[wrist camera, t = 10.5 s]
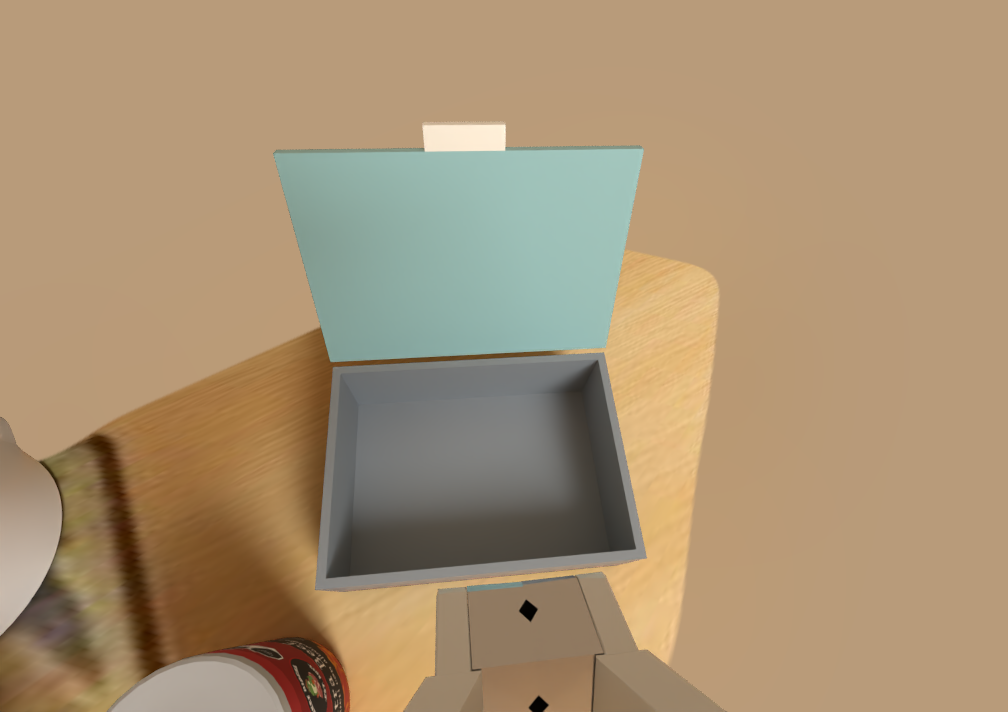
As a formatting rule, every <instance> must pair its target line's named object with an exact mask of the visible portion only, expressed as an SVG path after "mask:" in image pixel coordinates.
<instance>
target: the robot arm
mask: <svg viewBox="0 0 1008 712" xmlns="http://www.w3.org/2000/svg"><path fill="white" fill-rule="evenodd" d="M61 525H62V506H61V499H60V495H59V491H58V488H57V486H56V484H55V481H54V480H53V478H52V476H51V475H50V473H49V472H48V471H47V470H46V469H45V468H44V466H43V465H42V464H40V463H39V462H38V461H37V460H35V459H34V458H32V457H31V456H29V455H28V454H26V453H25V452H23V451H22V450H21V449H20V448H19V447H18V446H17V445H16V442H15V438H14V436H13V433H12V431H11V428H10V426H9V424H8V423H7V421H6V420H5V419H3V418H2V417H0V635H1V634H3V633H4V632H5V630H6V629H7V628H8V627H9V626H10V625H11V624H12V623H13V622H14V621H15V620H16V618H17V617H18V616H19V615H20V614H21V612H22V611H23V610H24V608H25V607H26V606H27V605H28V603H29V602H30V600H31V599H32V597H33V596H34V595H35V593H36V591H37V590H38V588H39V587H40V585H41V583H42V581H43V579H44V578H45V576H46V574H47V572H48V570H49V567H50V565H51V563H52V560H53V558H54V555H55V552H56V549H57V545H58V542H59V537H60V533H61ZM467 599H468V604H467ZM468 618H469V620H468ZM403 712H726V711H725V710H724V709H722V708H721V707H720V706H718V705H717V704H716V703H715V702H713V701H712V700H711V699H710V698H708V697H707V696H706V695H704V694H703V693H702V692H701V691H699V690H698V689H697V688H695V687H694V686H693V685H691V684H690V683H689V682H688V681H687V680H685V679H684V678H683V677H681V676H680V675H679V674H678V673H676V672H675V671H674V670H673V669H671V668H670V667H669V666H668V665H666V664H665V663H664V662H662V661H661V660H660V659H659V658H657V657H656V656H655V655H654V654H652V653H651V652H650V651H648V650H638V648H637V646H636V643H635V641H634V639H633V637H632V634H631V632H630V630H629V627H628V625H627V623H626V621H625V618H624V616H623V614H622V611H621V609H620V607H619V605H618V602H617V600H616V598H615V596H614V593H613V591H612V589H611V586H610V584H609V582H608V580H607V577H606V575H605V574H603V573H602V572H596V573H588V574H580V575H575V576H564V577H556V578H547V579H538V580H530V581H521V582H513V583H501V584H488V585H476V586H467V590H466V587H461V588H447V589H438V592H437V600H436V650H435V676H431V677H426V678H425V679H424V681H423V682H422V684H421V685H420V687H419V688H418V690H417V691H416V693H415V694H414V696H413V697H412V699H411V701H410V702H409V704H408V705H407V707H406V708H405V710H404V711H403Z"/></svg>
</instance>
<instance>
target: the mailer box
mask: <svg viewBox="0 0 1008 712" xmlns="http://www.w3.org/2000/svg"><path fill="white" fill-rule="evenodd" d="M645 558H647V557H646V552H645V547H644V542H643V538H642V533H641V528H640V523H639V518H638V514H637V509H636V504H635V499H634V494H633V490H632V485H631V480H630V475H629V470H628V466H627V461H626V456H625V451H624V446H623V442H622V437H621V432H620V427H619V422H618V418H617V413H616V408H615V403H614V398H613V394H612V389H611V384H610V379H609V374H608V370H607V365H606V360H605V355H604V353H587V354H568V355H550V356H531V357H512V358H494V359H475V360H456V361H438V362H419V363H400V364H382V365H363V366H344V367H333V374H332V387H331V399H330V411H329V424H328V436H327V449H326V461H325V473H324V486H323V498H322V511H321V523H320V535H319V548H318V560H317V573H316V585H315V590H323V591H339V592H345V591H356V590H366V589H376V588H387V587H397V586H407V585H418V584H428V583H438V582H449V581H459V580H469V579H480V578H490V577H500V576H511V575H521V574H531V573H542V572H552V571H562V570H573V569H583V568H593V567H604V566H614V565H620V564H625V563H629V562H633V561H637V560H641V559H645Z"/></svg>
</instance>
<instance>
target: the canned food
mask: <svg viewBox="0 0 1008 712" xmlns="http://www.w3.org/2000/svg"><path fill="white" fill-rule="evenodd" d="M349 710H350V693H349V687H348V682H347V678H346V675H345V673H344V671H343V668H342V666H341V664H340V663H339V661H338V660H337V659H336V657H335V656H334V655H333V654H332V653H331V652H330V651H329V650H328V649H326V648H325V647H324V646H323V645H321V644H319V643H316V642H314V641H312V640H309V639H304V638H299V637H295V638H281V639H275V640H270V641H265V642H259V643H254V644H249V645H243V646H238V647H233V648H227V649H222V650H217V651H213V652H208V653H204V654H200V655H196V656H192V657H187V658H184V659H182V660H179V661H177V662H175V663H172V664H170V665H168V666H165V667H163V668H161V669H159V670H157V671H155V672H153V673H152V674H150V675H149V676H147V677H145V678H144V679H142V680H141V681H139V682H137V683H136V684H135V685H134V686H133V687H131V688H130V689H129V690H128V691H127V692H126V693H124V694H123V695H122V696H121V697H120V698H119V699H117V700H116V702H115V703H114V704H113V705H112V706H111V707H110V708H109V709H108V711H107V712H349Z"/></svg>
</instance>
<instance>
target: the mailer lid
mask: <svg viewBox="0 0 1008 712" xmlns="http://www.w3.org/2000/svg"><path fill="white" fill-rule="evenodd" d="M505 131H506V124H505V122H423V136H424V148H393V149H317V150H316V149H315V150H313V149H310V150H276V151H275V152H274V153H273V154H274V158H275V162H276V166H277V169H278V173H279V177H280V180H281V184H282V188H283V191H284V195H285V198H286V202H287V205H288V209H289V213H290V217H291V220H292V223H293V228H294V231H295V235H296V238H297V242H298V246H299V249H300V253H301V257H302V260H303V264H304V267H305V271H306V275H307V278H308V282H309V286H310V289H311V293H312V297H313V300H314V304H315V307H316V311H317V315H318V318H319V322H320V326H321V329H322V333H323V337H324V340H325V344H326V348H327V351H328V355H329V358H330V362H343V361H362V360H381V359H400V358H419V357H438V356H457V355H476V354H495V353H514V352H533V351H552V350H571V349H590V348H606V343H607V338H608V333H609V327H610V322H611V317H612V312H613V307H614V302H615V296H616V291H617V286H618V281H619V276H620V270H621V265H622V260H623V255H624V250H625V244H626V239H627V234H628V228H629V224H630V218H631V213H632V207H633V203H634V197H635V193H636V187H637V182H638V177H639V171H640V167H641V161H642V156H643V151H644V149H643V148H642V147H641V146H566V147H565V146H563V147H505V135H506V132H505Z"/></svg>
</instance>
